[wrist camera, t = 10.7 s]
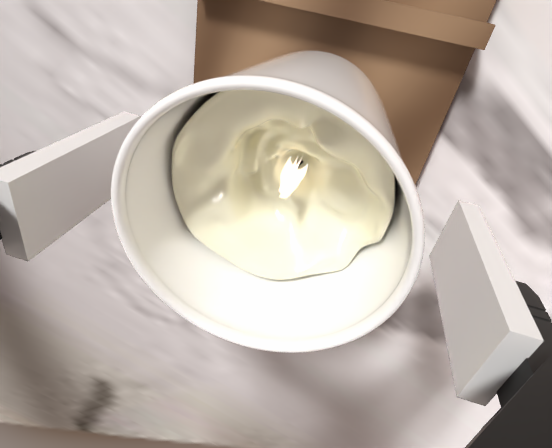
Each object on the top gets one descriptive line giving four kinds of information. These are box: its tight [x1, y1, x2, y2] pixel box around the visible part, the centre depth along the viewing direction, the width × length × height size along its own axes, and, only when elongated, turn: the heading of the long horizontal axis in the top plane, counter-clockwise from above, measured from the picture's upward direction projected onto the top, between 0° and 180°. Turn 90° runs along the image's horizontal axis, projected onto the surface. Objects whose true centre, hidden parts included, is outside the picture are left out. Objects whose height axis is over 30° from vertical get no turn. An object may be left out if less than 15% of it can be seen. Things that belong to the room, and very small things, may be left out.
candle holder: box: [111, 50, 425, 353], centre depth 16 cm, size 10×10×12 cm
